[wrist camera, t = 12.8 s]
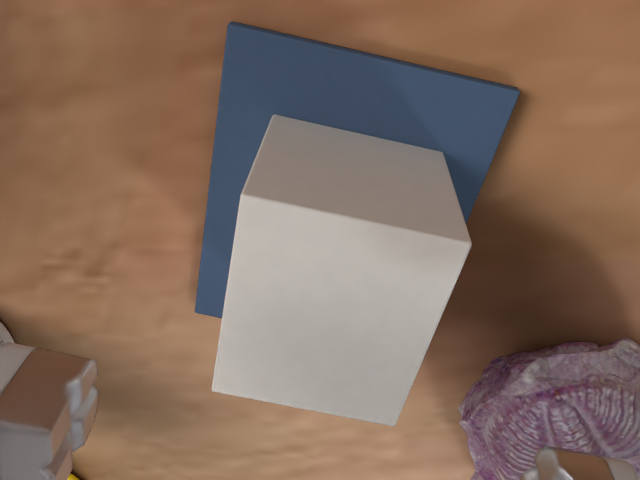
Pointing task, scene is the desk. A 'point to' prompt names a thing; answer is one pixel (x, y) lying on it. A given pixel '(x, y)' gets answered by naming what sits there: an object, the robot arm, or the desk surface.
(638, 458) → the fossil
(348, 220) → the small box
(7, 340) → the pill bottle
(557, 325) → the desk surface
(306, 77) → the mat
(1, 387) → the robot arm
